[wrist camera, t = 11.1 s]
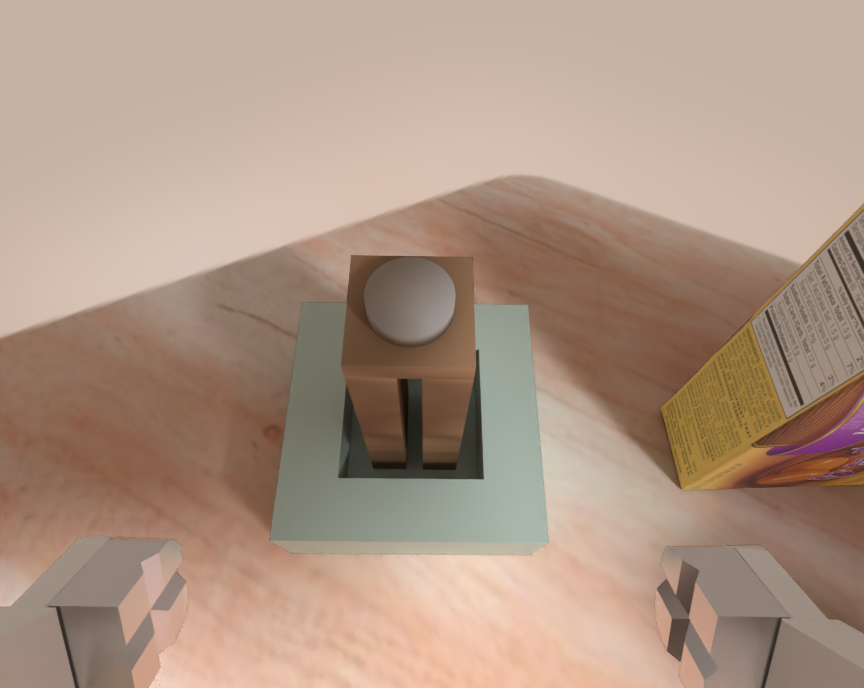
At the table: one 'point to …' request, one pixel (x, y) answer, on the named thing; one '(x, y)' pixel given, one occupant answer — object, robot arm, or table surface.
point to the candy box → (783, 385)
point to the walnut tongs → (410, 353)
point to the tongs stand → (412, 455)
